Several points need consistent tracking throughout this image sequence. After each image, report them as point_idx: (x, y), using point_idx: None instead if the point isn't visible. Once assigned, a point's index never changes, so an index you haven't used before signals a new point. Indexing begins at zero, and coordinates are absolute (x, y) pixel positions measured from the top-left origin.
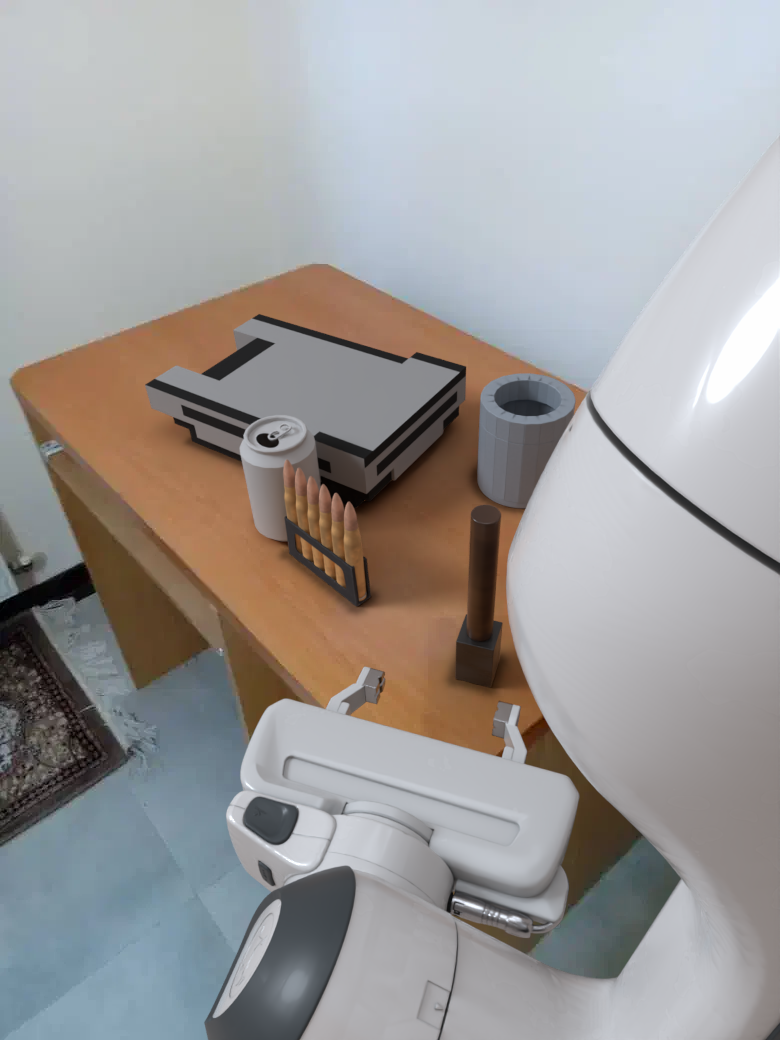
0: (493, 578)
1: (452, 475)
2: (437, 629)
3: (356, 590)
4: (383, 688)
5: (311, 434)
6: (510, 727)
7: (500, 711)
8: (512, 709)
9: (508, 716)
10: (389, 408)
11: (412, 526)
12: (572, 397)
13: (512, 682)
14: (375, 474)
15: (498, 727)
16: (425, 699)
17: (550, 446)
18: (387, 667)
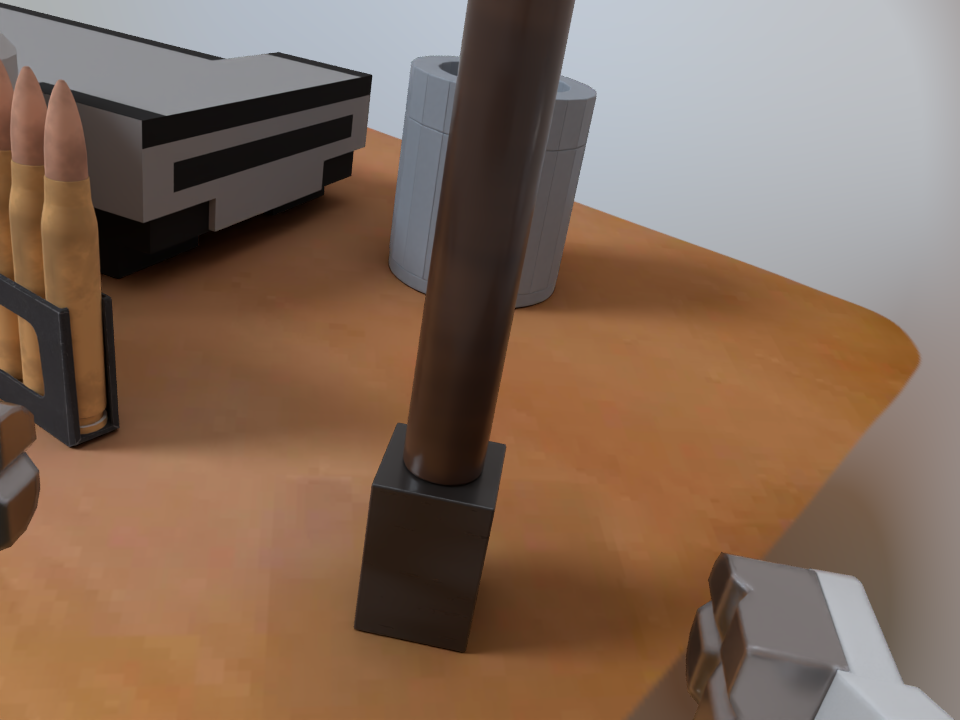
0: (524, 225)
1: (338, 254)
2: (300, 505)
3: (72, 392)
4: (20, 528)
5: (10, 42)
6: (886, 696)
7: (766, 602)
8: (826, 591)
9: (828, 630)
10: (216, 84)
11: (248, 314)
12: (588, 88)
13: (524, 637)
14: (169, 184)
15: (766, 711)
16: (254, 694)
17: (552, 162)
18: (136, 599)
